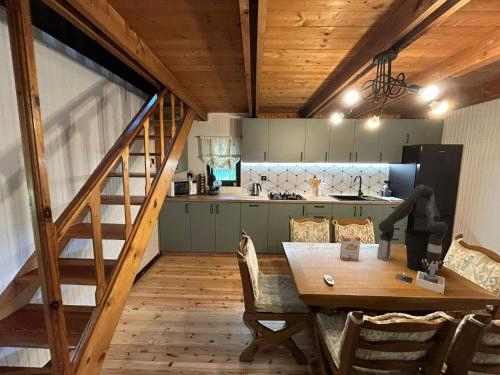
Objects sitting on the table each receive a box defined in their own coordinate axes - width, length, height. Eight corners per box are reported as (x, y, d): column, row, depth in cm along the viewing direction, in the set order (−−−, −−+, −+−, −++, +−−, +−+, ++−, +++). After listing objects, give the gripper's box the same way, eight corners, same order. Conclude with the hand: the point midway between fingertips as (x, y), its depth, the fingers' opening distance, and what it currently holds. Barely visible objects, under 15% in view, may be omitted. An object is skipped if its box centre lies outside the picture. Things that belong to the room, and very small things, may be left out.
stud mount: (394, 279, 173) (395, 273, 173) (396, 274, 181) (397, 268, 181) (411, 284, 167) (412, 277, 167) (412, 279, 175) (413, 272, 174)
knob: (423, 281, 168) (425, 261, 166) (431, 281, 168) (433, 261, 166) (428, 285, 163) (431, 264, 161) (437, 285, 162) (439, 265, 161)
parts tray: (415, 286, 164) (416, 278, 164) (417, 278, 176) (418, 271, 175) (443, 295, 155) (444, 286, 154) (443, 285, 167) (444, 277, 166)
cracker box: (341, 260, 204) (343, 236, 201) (339, 257, 210) (341, 234, 207) (358, 261, 202) (360, 237, 200) (356, 258, 208) (358, 235, 206)
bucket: (424, 279, 175) (429, 239, 171) (392, 263, 201) (396, 228, 197) (451, 275, 182) (457, 237, 178) (417, 260, 208) (421, 226, 205)
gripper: (441, 248, 166) (438, 272, 168) (419, 247, 167) (416, 271, 169) (449, 253, 158) (446, 277, 160) (426, 252, 159) (423, 276, 161)
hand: (431, 274), depth 165 cm, fingers closed on knob, 3 cm apart
